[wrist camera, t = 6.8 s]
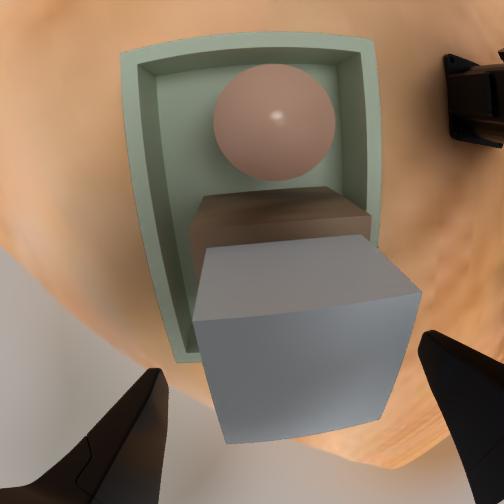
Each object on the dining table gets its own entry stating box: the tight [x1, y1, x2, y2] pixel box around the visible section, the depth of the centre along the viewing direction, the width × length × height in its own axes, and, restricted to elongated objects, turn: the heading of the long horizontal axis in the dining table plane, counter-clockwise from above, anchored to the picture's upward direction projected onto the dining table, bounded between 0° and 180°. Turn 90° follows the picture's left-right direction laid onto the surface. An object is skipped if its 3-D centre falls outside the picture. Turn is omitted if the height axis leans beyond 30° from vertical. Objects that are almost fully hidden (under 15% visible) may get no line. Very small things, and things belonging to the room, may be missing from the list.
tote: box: [120, 32, 382, 363], centre depth 15 cm, size 12×17×4 cm
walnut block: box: [189, 186, 372, 288], centre depth 15 cm, size 7×7×6 cm
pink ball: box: [213, 64, 335, 181], centre depth 12 cm, size 5×5×5 cm
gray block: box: [192, 234, 422, 444], centre depth 10 cm, size 6×6×4 cm
